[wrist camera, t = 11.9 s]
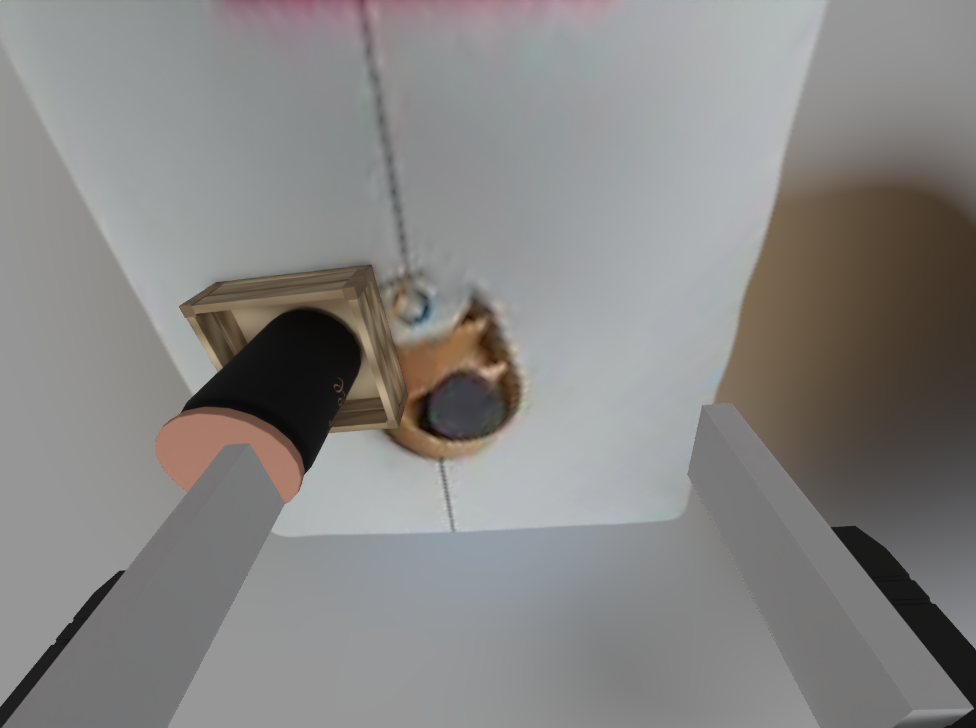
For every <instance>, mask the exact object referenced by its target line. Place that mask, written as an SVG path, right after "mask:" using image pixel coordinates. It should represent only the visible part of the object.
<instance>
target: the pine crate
mask: <svg viewBox="0 0 976 728" xmlns="http://www.w3.org/2000/svg"><path fill="white" fill-rule="evenodd" d="M179 308H180V310H181V311H182V313H183V315H184V317H185V318H187V320H188V322H189V323H190V325H191V327H192V329H193V330H194V332H195V334H196V336H197V337H198V339H199V341H200V342H201V344H202V346H203V348H204V349H205V351H206V353H207V355H208V356H209V358H210V360H211V361H212V363H213V365H214V367H215V368H216V370H217V372H219V371H220V370H221V369H222V368H223V367H224V366H225V365H226V364H227V363H228V362H229V361H230V360H231V359H232V358H233V357H234V356H235V355H236V354H237V353H238V352H239V351H241V350H242V349H243V348H244V347H245V346H246V345H247V344H248V343H249V342H250V341H251V340H252V339H253V338H254V337H255V336H256V335H257V334H258V333H259V332H260V331H261V330H262V329H263V328H264V327H265V326H266V325H267V324H268V323H269V322H270V321H272V320H273V319H275V318H276V317H278V316H279V315H281V314H282V313H287V312H291V311H295V310H307V311H316V312H319V313H322V314H325V315H328V316H330V317H332V318H334V319H335V320H337V321H338V322H340V323H341V324H343V325H344V327H345V328H346V329H347V330H348V331H349V332H350V333H351V334H352V336H353V337H354V339H355V341H356V343H357V345H358V347H359V350H360V358H361V366H360V369H359V373H358V376H357V378H356V380H355V382H354V384H353V385H352V387H351V389H350V391H349V393H348V395H347V397H346V399H345V401H344V403H343V405H342V407H341V409H340V411H339V413H338V415H337V417H336V419H335V421H334V423H333V425H332V427H331V429H330V431H329V433H336V432H348V431H360V430H372V429H384V428H388V429H392V428H399V425H400V422H401V418H402V415H403V412H404V408H405V405H406V401H407V398H408V394H407V390H406V386H405V383H404V379H403V376H402V372H401V369H400V365H399V362H398V358H397V355H396V351H395V348H394V344H393V340H392V337H391V333H390V330H389V326H388V323H387V319H386V316H385V312H384V309H383V305H382V302H381V298H380V295H379V291H378V287H377V284H376V280H375V277H374V273H373V270H372V266H371V265H366V266H357V267H348V268H340V269H331V270H322V271H313V272H305V273H296V274H287V275H279V276H270V277H261V278H252V279H244V280H235V281H226V282H218V283H215V284H213V285H211V286H210V287H208V288H207V289H205V290H204V291H202V292H200V293H199V294H197V295H196V296H194V297H193V298H191V299H189V300H188V301H186V302H185V303H183V304H182V305H180V306H179Z"/></svg>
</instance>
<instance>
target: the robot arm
mask: <svg viewBox="0 0 976 728" xmlns="http://www.w3.org/2000/svg"><path fill="white" fill-rule="evenodd" d="M688 476H689V478H690V480H691V482H692V484H693V486H694V488H695V490H696V491H697V494H698V495H699V497H700V499H701V501H702V503H703V505H704V507H705V509H706V511H707V513H708V515H709V516H710V518H711V520H712V522H713V524H714V526H715V528H716V530H717V532H718V534H719V535H720V537H721V539H722V541H723V543H724V545H725V547H726V549H727V551H728V553H729V554H730V557H731V558H732V560H733V562H734V564H735V566H736V568H737V570H738V572H739V574H740V575H741V578H742V579H743V581H744V583H745V585H746V587H747V589H748V591H749V593H750V595H751V597H752V599H753V600H754V602H755V604H756V606H757V608H758V610H759V612H760V614H761V616H762V618H763V620H764V621H765V623H766V625H767V627H768V629H769V631H770V633H771V635H772V637H773V639H774V640H775V642H776V644H777V646H778V648H779V650H780V652H781V654H782V656H783V658H784V660H785V661H786V663H787V665H788V667H789V669H790V671H791V673H792V675H793V677H794V679H795V681H796V682H797V684H798V686H799V688H800V690H801V692H802V694H803V696H804V698H805V700H806V702H807V703H808V705H809V707H810V709H811V711H812V713H813V715H814V717H815V719H816V720H817V723H818V724H819V726H820V728H976V650H975V648H974V647H973V646H972V645H971V644H970V643H969V642H968V641H967V639H966V638H965V637H964V636H963V635H962V634H961V633H960V632H959V630H958V629H957V628H956V627H955V626H954V625H953V624H952V622H951V621H950V620H949V619H948V618H947V617H946V616H945V615H944V614H943V612H942V611H941V610H940V609H939V608H938V607H937V605H936V604H932V603H931V602H930V598H929V596H928V595H927V594H926V593H925V592H924V591H923V590H922V589H921V587H920V586H919V585H918V584H917V583H916V582H915V581H914V580H911V579H910V577H909V574H908V573H907V572H906V570H905V569H904V568H903V567H902V566H901V565H900V564H899V562H898V561H897V560H896V559H895V558H894V557H893V556H892V555H891V554H890V552H889V551H888V550H887V549H886V548H885V547H884V546H882V545H881V544H880V543H878V542H877V541H875V540H874V539H873V538H871V537H870V536H868V535H867V534H866V533H864V532H863V531H862V530H860V529H859V528H857V527H856V526H845V527H829V525H828V524H827V523H826V522H825V520H824V519H823V518H822V517H821V516H820V514H819V513H818V512H817V510H816V509H815V508H814V507H813V506H812V504H811V503H810V502H809V500H808V499H807V498H806V496H805V495H804V494H803V493H802V491H801V490H800V489H799V488H798V487H797V485H796V484H795V483H794V481H793V480H792V479H791V478H790V476H789V475H788V474H787V473H786V472H785V470H784V469H783V468H782V466H781V465H780V464H779V463H778V461H777V460H776V459H775V458H774V456H773V455H772V454H771V453H770V451H769V450H768V449H767V448H766V446H765V445H764V444H763V442H762V441H761V440H760V439H759V437H758V436H757V435H756V434H755V432H754V431H753V430H752V429H751V428H750V426H749V425H748V424H747V422H746V421H745V420H744V419H743V417H742V416H741V415H740V414H739V413H738V411H737V410H736V409H735V407H734V406H733V405H732V404H731V403H727V404H713V405H702V409H701V413H700V418H699V423H698V427H697V432H696V437H695V442H694V446H693V451H692V456H691V460H690V465H689V470H688ZM284 504H285V502H284V500H283V498H282V497H281V495H280V493H279V492H278V490H277V488H276V487H275V485H274V483H273V482H272V480H271V478H270V477H269V475H268V473H267V472H266V470H265V468H264V467H263V465H262V463H261V461H260V460H259V458H258V456H257V455H256V453H255V451H254V450H253V448H252V446H251V445H250V443H242V444H230V445H225V446H224V447H223V448H222V450H221V451H220V452H219V453H218V455H217V456H216V457H215V459H214V460H213V461H212V462H211V464H210V465H209V466H208V467H207V469H206V470H205V471H204V472H203V474H202V475H201V476H200V477H199V479H198V480H197V481H196V483H195V484H194V485H193V486H192V488H191V489H190V490H189V491H188V493H187V494H186V495H185V497H184V498H183V499H182V500H181V502H180V503H179V504H178V505H177V507H176V508H175V509H174V510H173V512H172V513H171V514H170V515H169V517H168V518H167V519H166V521H165V522H164V523H163V524H162V526H161V527H160V528H159V529H158V531H157V532H156V533H155V535H154V536H153V537H152V538H151V539H150V541H149V542H148V543H147V545H146V546H145V547H144V548H143V550H142V551H141V552H140V553H139V555H138V556H137V557H136V558H135V560H134V561H133V562H132V564H131V565H130V566H129V567H128V569H127V570H125V571H119V572H118V573H117V574H115V575H114V576H113V577H112V578H111V579H110V580H108V581H107V582H106V583H105V584H104V585H103V586H102V587H100V588H99V589H98V590H97V591H96V592H94V594H93V595H92V596H91V597H90V598H89V600H88V601H87V602H86V603H85V604H84V606H83V607H82V608H81V609H80V611H79V612H78V613H77V614H76V615H75V617H74V618H73V619H74V620H73V622H72V623H69V624H68V625H67V626H66V628H65V629H64V630H63V631H62V632H61V634H60V635H59V636H58V637H57V639H56V643H55V644H54V645H51V646H50V647H49V648H48V650H47V651H46V652H45V653H44V654H43V656H42V657H41V658H40V660H39V661H38V662H37V663H36V664H35V665H34V667H33V668H32V669H31V670H30V671H29V673H28V674H27V675H26V676H25V678H24V679H23V680H22V681H21V683H20V684H19V685H18V686H17V687H16V689H15V690H14V691H13V692H12V694H11V695H10V696H9V697H8V698H7V700H6V701H5V702H4V703H3V704H2V706H1V707H0V728H167V727H168V725H169V723H170V721H171V720H172V718H173V716H174V714H175V712H176V710H177V708H178V706H179V704H180V702H181V701H182V699H183V697H184V695H185V693H186V691H187V689H188V687H189V685H190V683H191V681H192V680H193V678H194V676H195V674H196V672H197V670H198V668H199V666H200V664H201V662H202V661H203V659H204V657H205V655H206V653H207V651H208V649H209V647H210V645H211V643H212V641H213V640H214V638H215V636H216V634H217V632H218V630H219V628H220V626H221V624H222V622H223V620H224V618H225V617H226V615H227V613H228V611H229V609H230V607H231V605H232V603H233V601H234V600H235V597H236V596H237V594H238V592H239V590H240V588H241V586H242V584H243V582H244V580H245V579H246V576H247V575H248V573H249V571H250V569H251V567H252V565H253V563H254V561H255V559H256V558H257V555H258V554H259V552H260V550H261V548H262V546H263V544H264V542H265V540H266V538H267V537H268V535H269V533H270V531H271V529H272V527H273V525H274V523H275V521H276V519H277V518H278V516H279V514H280V512H281V510H282V508H283V506H284Z"/></svg>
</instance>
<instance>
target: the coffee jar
mask: <svg viewBox="0 0 976 728" xmlns="http://www.w3.org/2000/svg"><path fill="white" fill-rule="evenodd" d="M360 366H361V358H360V350H359V347H358V345H357V343H356V341H355V339H354V337H353V336H352V334H351V333H350V332H349V331H348V330H347V329H346V328H345V327H344V325H343V324H341V323H340V322H338V321H337V320H335V319H334V318H332V317H330V316H328V315H325V314H322V313H319V312H316V311H307V310H295V311H291V312H287V313H282V314H281V315H279V316H278V317H276V318H275V319H273V320H272V321H270V322H269V323H268V324H267V325H266V326H265V327H264V328H263V329H262V330H261V331H260V332H259V333H258V334H257V335H256V336H255V337H254V338H253V339H252V340H251V341H250V342H249V343H248V344H247V345H246V346H245V347H244V348H243V349H242V350H241V351H239V352H238V353H237V354H236V355H235V356H234V357H233V358H232V359H231V360H230V361H229V362H228V363H227V364H226V365H225V366H224V367H223V368H222V369H221V370H220V371H219V372H218V373H217V374H216V375H215V376H214V377H213V378H212V379H211V380H210V381H209V382H207V383H206V384H205V385H204V386H203V387H202V388H201V389H200V390H199V391H198V392H197V393H196V394H195V395H194V396H193V397H192V398H191V399H190V400H189V401H188V402H187V403H186V405H185V407H184V408H183V410H182V412H181V414H179V415H177V416H176V417H174V418H173V419H171V420H170V421H168V422H167V423H166V424H165V425H164V426H163V427H162V429H161V431H160V432H159V434H158V436H157V438H156V455H157V457H158V459H159V461H160V463H161V465H162V467H163V469H164V471H165V472H166V473H167V474H168V475H169V476H170V477H171V478H172V479H173V480H174V481H175V482H176V483H177V484H178V485H179V486H181V487H182V488H183V489H185V490H187V491H189V490H190V489H191V488H192V486H193V485H194V484H195V483H196V481H197V480H198V479H199V477H200V476H201V475H202V474H203V472H204V471H205V470H206V469H207V467H208V466H209V465H210V464H211V462H212V461H213V460H214V459H215V457H216V456H217V455H218V453H219V452H220V451H221V450H222V448H223V447H224V446H225V445H230V444H242V443H250V445H251V446H252V448H253V450H254V451H255V453H256V455H257V456H258V458H259V460H260V461H261V463H262V465H263V467H264V468H265V470H266V472H267V473H268V475H269V477H270V478H271V480H272V482H273V483H274V485H275V487H276V488H277V490H278V492H279V493H280V495H281V497H282V498H283V500H284V502H285V504H286V503H288V502H290V501H291V499H292V498H293V497H294V496H295V495H296V494H297V493H298V492H299V490H300V487H301V485H302V481H303V477H304V475H305V473H306V472H307V471H308V470H309V469H310V468H311V467H312V465H313V463H314V461H315V459H316V457H317V455H318V453H319V451H320V449H321V447H322V445H323V443H324V441H325V439H326V437H327V435H328V433H329V431H330V429H331V427H332V425H333V423H334V421H335V419H336V417H337V415H338V413H339V411H340V409H341V407H342V405H343V403H344V401H345V399H346V397H347V395H348V393H349V391H350V389H351V387H352V385H353V384H354V382H355V380H356V378H357V376H358V373H359V369H360Z"/></svg>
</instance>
